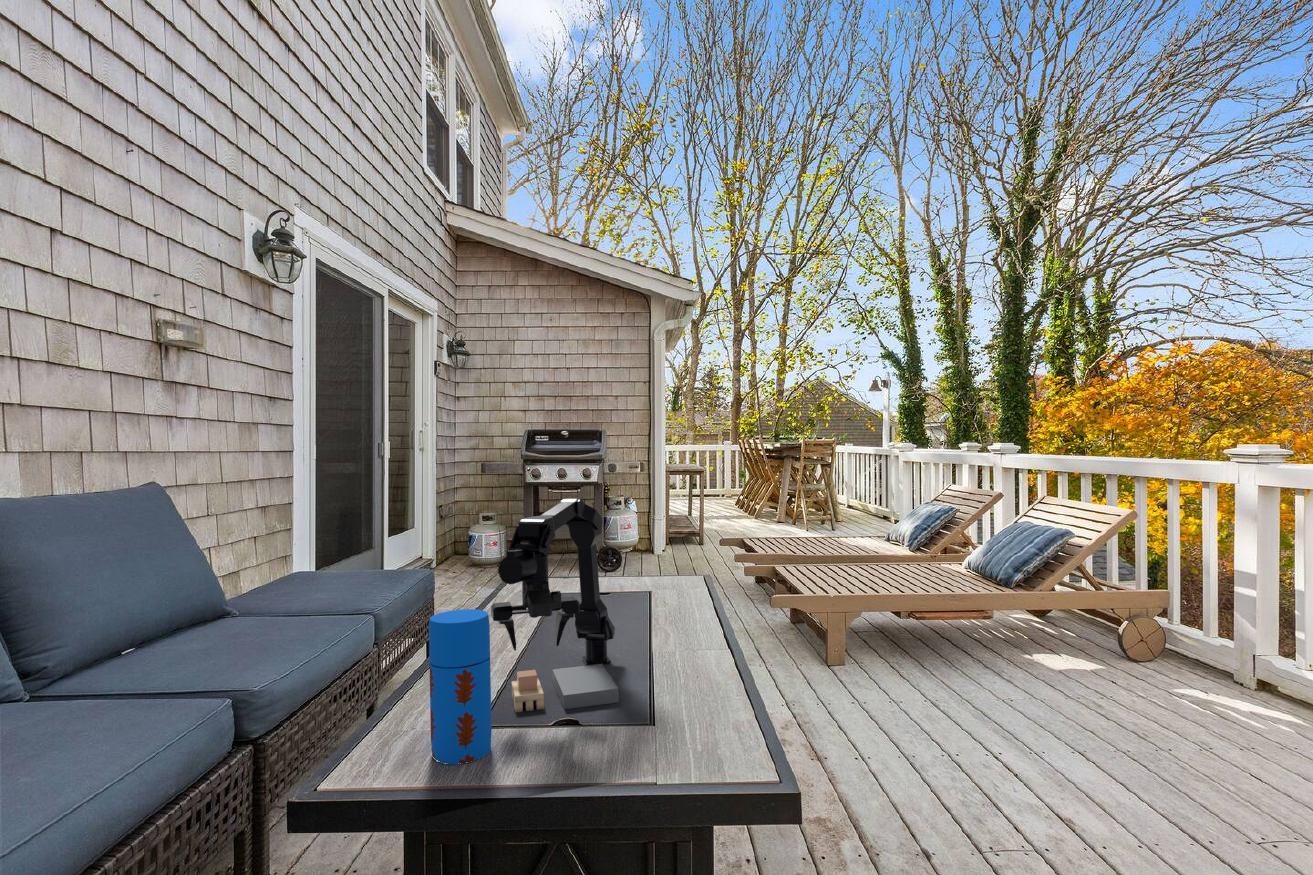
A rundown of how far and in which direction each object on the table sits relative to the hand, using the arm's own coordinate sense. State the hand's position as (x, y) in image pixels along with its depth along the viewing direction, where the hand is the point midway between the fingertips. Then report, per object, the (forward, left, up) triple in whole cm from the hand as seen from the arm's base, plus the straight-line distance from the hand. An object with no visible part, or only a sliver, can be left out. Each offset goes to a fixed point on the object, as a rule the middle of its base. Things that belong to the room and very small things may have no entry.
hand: (536, 647), depth 148 cm
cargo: (-2, -2, -9) cm, 9 cm away
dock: (-4, +11, -12) cm, 17 cm away
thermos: (+19, -16, -12) cm, 28 cm away
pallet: (-2, -2, -12) cm, 13 cm away
